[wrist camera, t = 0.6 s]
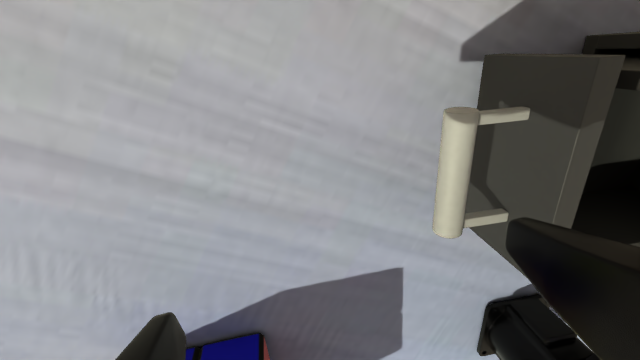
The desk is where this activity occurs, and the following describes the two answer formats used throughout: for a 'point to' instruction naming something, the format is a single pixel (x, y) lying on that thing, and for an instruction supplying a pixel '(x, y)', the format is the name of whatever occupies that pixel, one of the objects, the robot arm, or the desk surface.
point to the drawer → (544, 149)
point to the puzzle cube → (232, 349)
